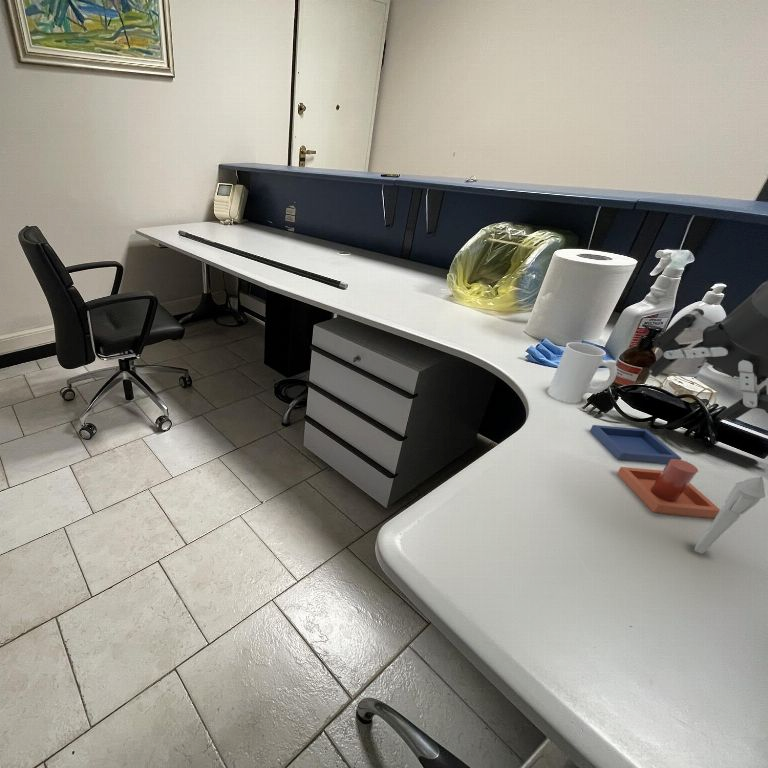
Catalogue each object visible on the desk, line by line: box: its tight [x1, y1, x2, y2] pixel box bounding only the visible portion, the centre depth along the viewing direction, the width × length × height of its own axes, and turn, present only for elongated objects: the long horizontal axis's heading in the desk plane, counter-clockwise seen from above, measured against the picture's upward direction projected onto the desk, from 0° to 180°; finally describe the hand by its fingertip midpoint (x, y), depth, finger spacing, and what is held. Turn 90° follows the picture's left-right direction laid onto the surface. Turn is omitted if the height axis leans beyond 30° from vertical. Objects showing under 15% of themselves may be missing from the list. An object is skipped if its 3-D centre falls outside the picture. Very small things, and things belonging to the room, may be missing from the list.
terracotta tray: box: [616, 466, 721, 519], centre depth 64 cm, size 9×9×2 cm
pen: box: [694, 476, 766, 555], centre depth 52 cm, size 2×3×14 cm
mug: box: [547, 341, 618, 404], centre depth 88 cm, size 10×7×12 cm, turn 49°
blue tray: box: [589, 424, 682, 465], centre depth 75 cm, size 10×9×2 cm
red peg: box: [651, 459, 699, 502], centre depth 63 cm, size 3×3×6 cm
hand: (687, 393), depth 56 cm, fingers open, 8 cm apart
